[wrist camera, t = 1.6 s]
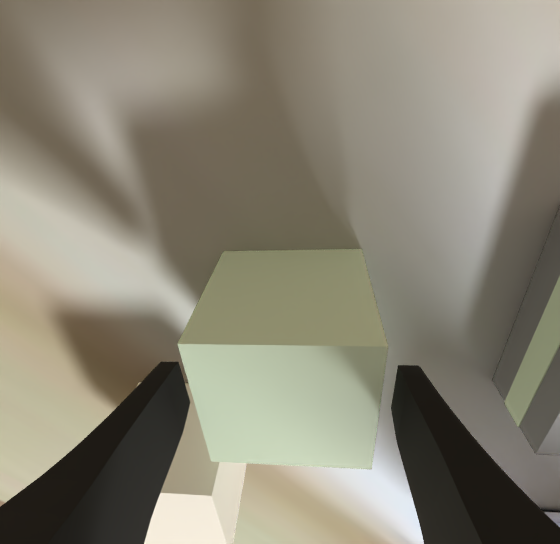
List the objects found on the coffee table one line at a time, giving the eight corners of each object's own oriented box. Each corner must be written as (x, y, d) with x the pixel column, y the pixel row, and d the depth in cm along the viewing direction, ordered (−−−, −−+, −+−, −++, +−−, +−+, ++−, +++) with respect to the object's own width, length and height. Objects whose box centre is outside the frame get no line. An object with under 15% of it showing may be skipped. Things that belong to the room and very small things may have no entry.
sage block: (354, 351, 16) (371, 469, 11) (240, 350, 17) (211, 461, 12) (361, 247, 13) (388, 346, 9) (223, 250, 14) (177, 344, 9)
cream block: (249, 445, 21) (231, 556, 16) (163, 441, 22) (120, 547, 17) (238, 383, 18) (211, 495, 13) (139, 380, 19) (79, 487, 14)
